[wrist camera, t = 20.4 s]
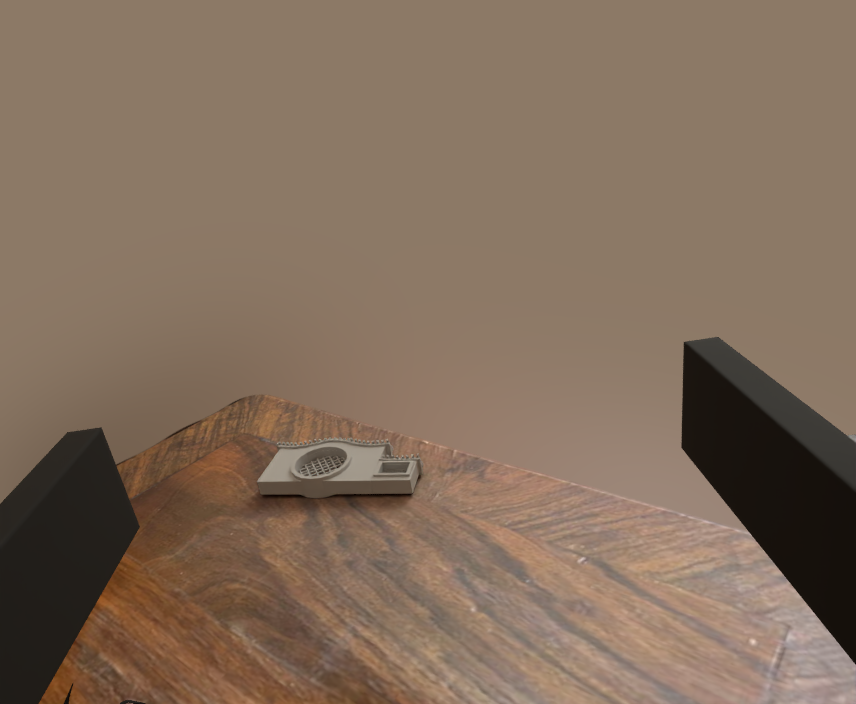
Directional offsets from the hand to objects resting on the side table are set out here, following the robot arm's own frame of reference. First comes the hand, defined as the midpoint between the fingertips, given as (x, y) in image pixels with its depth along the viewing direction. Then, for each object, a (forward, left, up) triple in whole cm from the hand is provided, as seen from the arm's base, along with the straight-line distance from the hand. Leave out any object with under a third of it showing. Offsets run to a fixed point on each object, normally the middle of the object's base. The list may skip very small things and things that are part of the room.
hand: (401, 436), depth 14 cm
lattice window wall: (+12, +23, -18) cm, 32 cm away
